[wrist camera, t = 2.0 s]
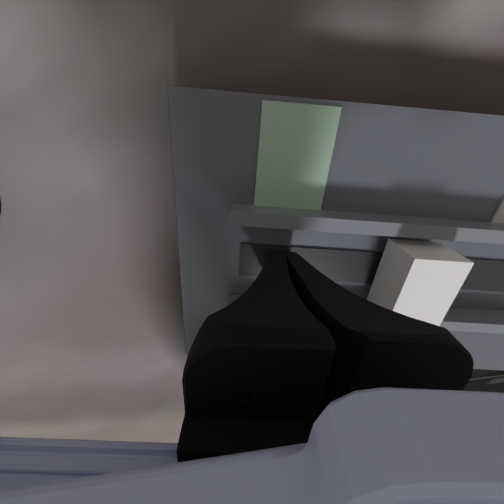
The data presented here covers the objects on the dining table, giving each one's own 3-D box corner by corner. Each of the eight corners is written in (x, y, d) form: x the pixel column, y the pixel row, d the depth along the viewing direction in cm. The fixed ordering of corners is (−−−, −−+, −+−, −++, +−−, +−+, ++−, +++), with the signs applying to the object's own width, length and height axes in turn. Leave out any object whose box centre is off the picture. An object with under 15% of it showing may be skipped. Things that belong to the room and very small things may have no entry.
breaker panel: (488, 341, 18) (542, 388, 15) (194, 325, 17) (180, 371, 14) (634, 134, 12) (784, 135, 9) (184, 95, 11) (155, 78, 8)
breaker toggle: (410, 303, 13) (436, 331, 11) (366, 301, 13) (384, 328, 11) (438, 241, 11) (474, 262, 9) (388, 238, 11) (414, 258, 9)
